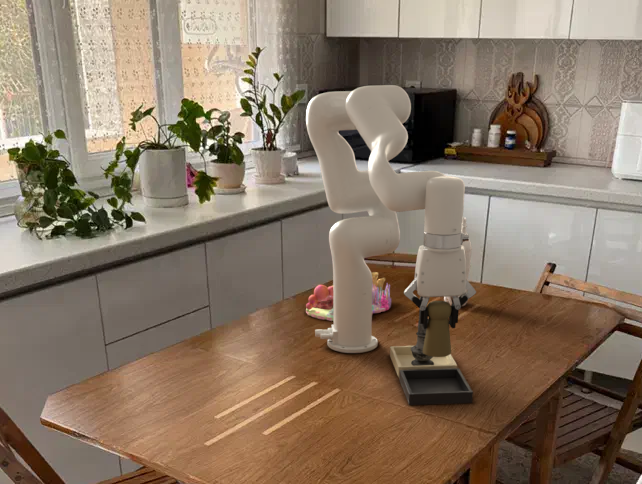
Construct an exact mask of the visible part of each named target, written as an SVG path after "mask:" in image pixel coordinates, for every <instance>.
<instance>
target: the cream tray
mask: <svg viewBox="0 0 642 484" xmlns="http://www.w3.org/2000/svg"><path fill="white" fill-rule="evenodd" d="M413 346H414V345H393V346H392V345H390V347H389V357H390V359H391V363H392V366H393V367H394V370H395V373H396V375H397V377H398V378H399V374H400V370H415V369H448V368H458V364H457V362H456V361H455V359H454V356H453V355H452V353H451V354H450V355H448V356H445V357H433V358H431V359H430V360H431V361H433V362H434V365H419V366H413V365H412V364H411V362H412V361H413V360H415V358H414V357H413V355H412V351H411V347H413Z"/></svg>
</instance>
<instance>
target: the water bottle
mask: <svg viewBox="0 0 642 484" xmlns="http://www.w3.org/2000/svg"><path fill="white" fill-rule="evenodd" d="M467 227H468V225H467V217H464V216H463V224H462V232H463V234H468V232H467ZM462 246H463V247H464V250H465V258H466V279H467V281H468V282H469V276H470V270H471V267H472V265H471V264H472V263H471V260H472V250H473V246H472V242H471V239H470V238H469V240H468V241H465V242H463V243H462ZM466 291H467V289H466V290H465V292H466ZM460 296H461V295H460ZM460 296H458V297H460ZM443 301H445V302H448V303H449V304H450V305H451V304H452V301H451V297H443ZM468 301H469V299H468V300H467V301H466V302H465V303H464V304H463V305H462V306H461V307H464V306H466V305H467V304H468Z"/></svg>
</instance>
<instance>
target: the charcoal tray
mask: <svg viewBox="0 0 642 484" xmlns="http://www.w3.org/2000/svg"><path fill="white" fill-rule="evenodd" d="M398 378H399V379H398V380H399V383H400V386H401V389H402V391H403V393H404V395H405V398H406V401H407V403H408V406H419V405H420V406H421V405H423V406H424V405H451V404H452V405H453V404H455V405H456V404H472V403H473V399H474V391H473V390H472V387H471V386H470V384H469V383H468V381H467V380H466V378H465V376H464V375H463V372H462V371H461V369H460V368H459V367H457V368H448V369H415V370H400V374H399V377H398Z"/></svg>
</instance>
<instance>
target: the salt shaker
mask: <svg viewBox="0 0 642 484" xmlns="http://www.w3.org/2000/svg"><path fill="white" fill-rule="evenodd" d="M426 330H427V328H426V329H423V327H422V325H421V324H420V323H419V320H418V322H417V331H416V332H415V334H416V344H415V345H412V346H413V347H411V351H412V355H413V357H414V358H415V360H413V361H412V362H411V364H412V365H413V366H419V365H434V362H433V361H431V360H430V359H431V358H433V357H432V356H428V355H425V354H424V353H423V346H424V341H425V335H426Z"/></svg>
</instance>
